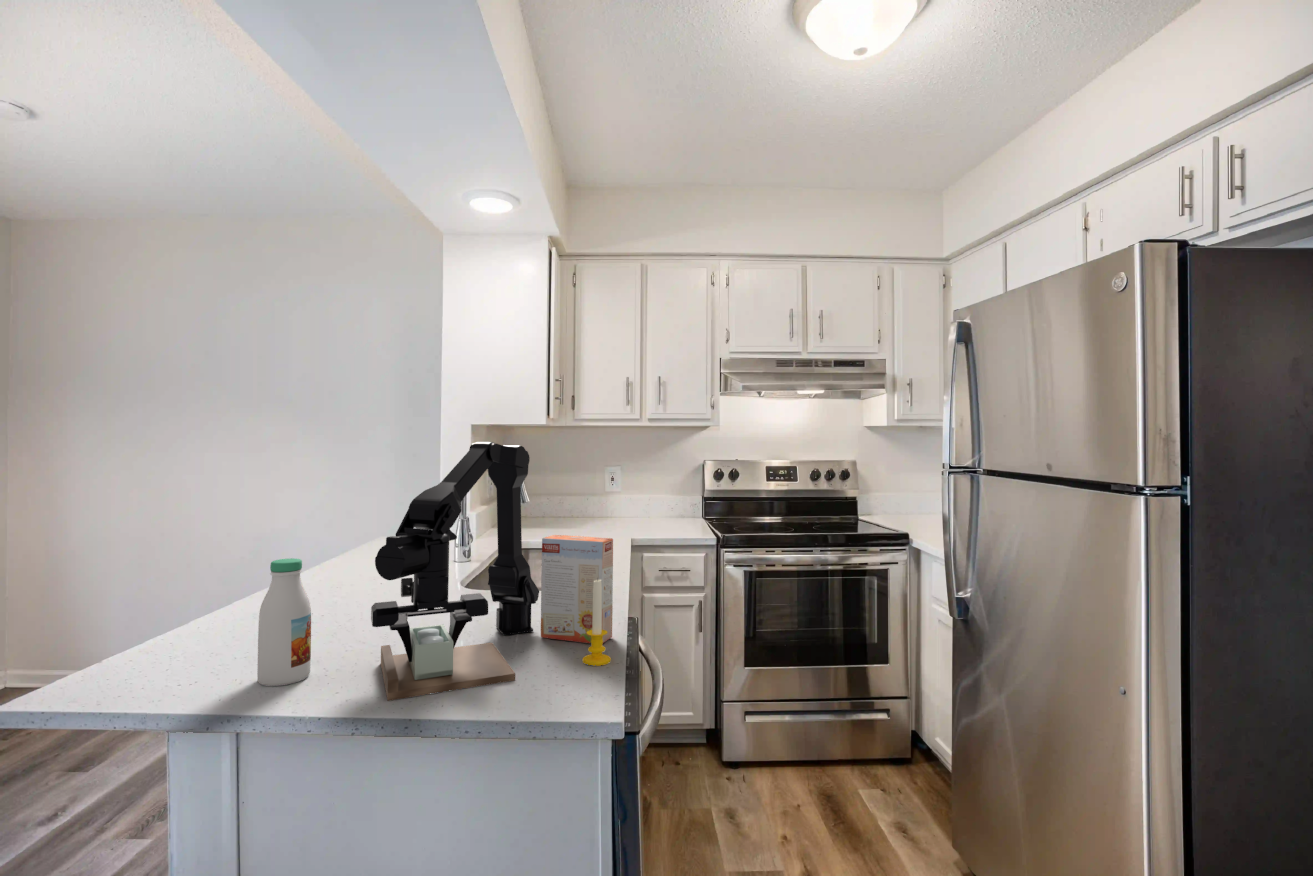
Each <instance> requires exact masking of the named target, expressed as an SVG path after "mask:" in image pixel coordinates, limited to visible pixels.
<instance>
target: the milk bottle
mask: <svg viewBox="0 0 1313 876" xmlns="http://www.w3.org/2000/svg"><path fill="white" fill-rule="evenodd" d="M302 568H303V560H302V559H301V558H293V557H292V558H290V557H289V558H280V559H276V560H272V561H271V562H270V573H269V574H270V576H271V580H270V581H271V582H270V585H269V588H268V589H267V592H266V594H265V596H264V597H263V600H262V602H261V604H260V608H259V615H258V631H257V633H258V634H257V637H258V638H257V682H258V683H259V685H262V686H265V687H279V686H280V687H281V686H287V685H292V684H295V683H298V682H301V681H303V680H305V679H306V678H308V677H309V675H310V673H311V662H312V660H311V659H312V658H311V656H312V655H311V653H312V652H311V650H312V608H311V607H312V605H311V601H310V597H309V596H308V593H307V591H306V590H305V587H304V586H303V582H302V579H301V573H303V571H302Z"/></svg>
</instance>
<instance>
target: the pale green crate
mask: <svg viewBox="0 0 1313 876" xmlns="http://www.w3.org/2000/svg"><path fill="white" fill-rule="evenodd" d="M410 637H411V647H412V662H409V664H410V667H411V670H412V673H413V676H414V679H415V680H419V679H426V678H432V677H439V676H446V675H453V643H454V642H453V640H452V638H451V636H450V635H449V630H447V627H446V625H444V623H443V624H436V625H435V624H434V625H426V626H417V627H410ZM408 661H409V660H408Z"/></svg>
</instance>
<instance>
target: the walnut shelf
mask: <svg viewBox="0 0 1313 876" xmlns="http://www.w3.org/2000/svg"><path fill="white" fill-rule="evenodd" d="M380 667H381V672H382V677H383V684H384V690H385V694H386V699H387V702H389V701H396V700H401V699H408V698H413V697H414V696H415V697H419V696H420V695H421V696H426V695H425V694H427V695H431V694H430V693H434V694H438V693H437V692H440V693H444V692H443V691H446V692H450V691H449V690H452V691H457V690H456V689H459V690H463V689H462V688H465V689H471V688H477V687H483V686H487V685H488V686H489V685H494V684H501V683H507V682H513V681H516V672H515V671H514V670H513V668H512V667H511V665H510V664H509V662H508V661H507V660H506V659H505V658H504V656H503V654H502V653H501V652H500V651H499V649H498V648H497V647H496V645H495V644H494V643H493V642H485V643H476V644H471V645H470V644H469V645H463V646H455V647H454V649H453V675H446V676H439V677H432V678H426V679H419V680H415V679H414V676H413V673H412V670H411V667H410V664H409V661H408V657H407V653H401V654H395V655H394V654H393V651H392V647H391V645H390V644H387V645H386V644H385V645H380ZM470 687H471V688H470Z"/></svg>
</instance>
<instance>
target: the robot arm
mask: <svg viewBox="0 0 1313 876" xmlns="http://www.w3.org/2000/svg"><path fill="white" fill-rule="evenodd" d="M468 449H469V450H468V451H467V452H466V454H465V455H464V456H463V457H462V458H460V460H459V462H458V463H456V464H455V465H454V467H453V468H452V469H451V471H449V473H448V474H447V475H446V476H445V477H444V478H443V479H442V480H441V482H439V483H438V484H437V485H434V486H432V487H429V488H427V489H425V490H423V491H422V492H420V493H419V494H418V495H417V496H416V497H414V498H413V499H412V500H411V502H410V503H409V506H408V509H407V512H406V513H405V514H404V516H403V518H402V521H401V522H400V525H399V527H398V529H397V531H396V532H395V536H394V535H390V536H387V537H386V538H385V545H382V546H381V547H380V548H379V549H378V551H377V554H376V556H375V558H374V564H375V570H376V571H377V573H378V575H379V576H380V577H381V578H383V579H384V580H387V581H393V580H394V581H395V580H398V579H400V597H401V598H409V597H410V602H411V604H409V605H398V603H397V600H391V601H382V602H381V601H380V602H379V601H378V602H374V603H373V604H372V605H371V607H370V621H371V626H372V627H373V628H381V627H383V628H384V627H389V630H390V631H397V633H398V635H399V637H400V639H401V641H402V643H403V646H404V650H405V654H407V657H408V660H409V662H412V647H411V637H410V628H411V627H410V623H409V622H408V619H409V617H419V616H421V617H422V616H429V615H438V614H448V613H449V628H448V633H449V635H450V636H451V638H452V640H453V642H454V643H453V649H454V647H456V644H457V642H458V640H459V637H460V635H461V633H462V632H463V630H464V628H465V627H466V625H467V623H470V622H472V621H473V618H474V617H484V616H487V615H489V601H488V600H487V599H486V598H485V597H484V596H483V594H481V593H480V592H477V593H467V594H460V598H459V600H453V601H452V600H451V601H449V582H450V581H449V579H450V577H449V576H450V575H449V574H450V572H449V571H450V569H449V568H450V567H449V566H450V541H455V540H457V538H458V537H457V536H458V535H456V533H455V532H453V531H452V530H451V528H452V527H453V526H454V525H455V523H456V521H457V519H458V517H459V516H460V514H461V513H462V501H463V500H464V498H465V497H466V496H467V494H468V493H469V492H470V491H471V490H472V488H473V487H474V486H476V485H475V484H476V483H477V482H479V480H480V479H481V478H482V476H483V475H484V474H485V473H486V471H487V474H488V477H489V479H490V480H491V482H492V484H493V485H494V486H495V489H496V490H495V491H496V521H497V522H496V524H497V526H496V527H497V528H496V529H497V530H496V531H497V534H496V535H497V557H496V559H495V561H494V563H492V565H489V566H488V569H487V571H488V582H487V585H488V586H489V591H490V595H491V599H492V600H491V601H492V602H495V603H496V602H497V603H498V608H496V614H495V615H496V618H495V619H496V621H495V622H496V625H495V627H496V629H497V630H498V631H499V632H500V633H501V634H502V636H507V635H516V634H524V633H532V632H533V633H534V628H533V627H532V605H535V604H536V603H537V602H538V600H539V597H540V596H539V595H540V589H539V588H538V587H537V585H536V582H534V580H533V579H532V576H531V575H532V574H531V568H530V565H529V563H528V561H527V560H526V558H525V557H524V555H523V552H522V551H523V549H522V548H523V546H522V545H523V544H522V543H523V542H522V540H523V539H522V500H521V499H522V497H521V495H522V494H521V493H522V492H521V491H522V490H521V488H522V486H523V483H524V482H525V480H526V478H527V476H528V474H529V464H530V458H531V457H530V454H529V451H528V450H527V449H526V448H525V447H524V446H522V445H507V444H506V445H505V444H503V445H502V444H499V443H496V442H494V441H476V442H473V443H471V444H470V445H469V448H468ZM408 576H413V577H408Z"/></svg>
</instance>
